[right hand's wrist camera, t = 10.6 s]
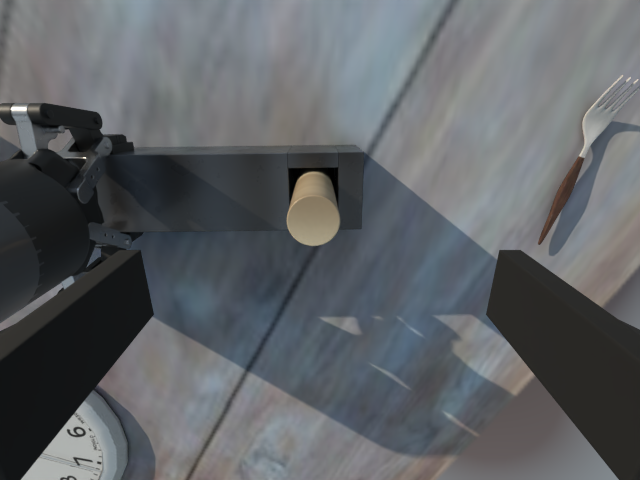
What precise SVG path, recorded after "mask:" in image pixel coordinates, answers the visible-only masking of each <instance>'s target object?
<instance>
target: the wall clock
mask: <svg viewBox="0 0 640 480" xmlns="http://www.w3.org/2000/svg"><path fill="white" fill-rule="evenodd" d="M127 463H128V442H127V439H126V436H125V434H124V431H123V428H122V426H121V423H120V420H119V419H118V418H117V416H116V415H115V414H114V412H113V411H112V410H111V408H110V407H109V405H108V404H107V403H106V401H105V400H104V399H103V398H102V397H101V396H100V395H99V394H98V393H96V392H95V391H94V390H93V391H92V392H91V393H90V394H89V396H88V397H87V398H86V399H85V401H84V402H83V403H82V404H81V406H80V407H79V408H78V409H77V411H76V412H75V413H74V414H73V416H72V417H71V418H70V419H69V421H68V422H67V423H66V424H65V425H64V427H63V428H62V429H61V430H60V432H59V433H58V434H57V435H56V437H55V438H54V439H53V440H52V442H51V443H50V444H49V445H48V447H47V448H46V449H45V450H44V452H43V453H42V454H41V455H40V457H39V458H38V459H37V460H36V462H35V463H34V464H33V465H32V467H31V468H30V469H29V470H28V471H27V473H26V474H25V475H24V476H23V478H22V479H21V480H121V478H122V475H123V473H124V470H125V468H126V465H127Z"/></svg>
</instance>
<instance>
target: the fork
mask: <svg viewBox="0 0 640 480" xmlns="http://www.w3.org/2000/svg"><path fill="white" fill-rule="evenodd" d="M622 77H623V75H622V76H621V77H620V78H619V79H618V80H617V81H616V82H615V83H614V84H613V85H612V86H611V87H610V88H609V89H608V90H607V91H606V92H605V93H604V94H603V95H602V96H601V97H600V98H599V99H598V100H597V101H596V102H595V103H594V105H593V106H592V107H591V108H590V109H589V110H588V112H587V113H586V114H585V116H584V119H583V123H582V128H583V134H584V147H583V150H582V152H581V153H580V155H579V157H578V158H577V160H576V161H575V163H574V165H573V166H572V168H571V169H570V171H569V173H568V174H567V176H566V177H565V179H564V181H563V182H562V184H561V186H560V188H559V190H558V192H557V194H556V197H555V199H554V202H553V205H552V208H551V210H550V213H549V216H548V218H547V221H546V223H545V226H544V228H543V231H542V233H541V236H540V239H539V242H538V244H539V245H540V244H541V243H542V241H543V240H544V238H545V237H546V235H547V233H548V232H549V230H550V228H551V227H552V225H553V223H554V222H555V220H556V218H557V217H558V215H559V213H560V212H561V210H562V208H563V207H564V205H565V203H566V202H567V200H568V198H569V196H570V194H571V192H572V190H573V188H574V185H575V183H576V180H577V177H578V174H579V172H580V169H581V166H582V163H583V161H584V158H585V155H586V153H587V151H588V149H589V147H590V145H591V144H592V143H593V141H594V140H595V139H596V138H597V137H598V136H599V135H600V134H601V133H602V132H603V131H604V130H605V129H606V127H607V126H608V125H609V124H610V122H611V121H612V120H613V118H614V117H615V116H616V114H617V113H618V112H619V111H620V109H621V108H622V107H623V106H624V105H625V104H626V103H627V102H628V100H629V99H630V98H631V97H632V96H633V95H634V94H635V93H636V92H637V91H638V90H639V89H640V86H639V87H638V88H637V89H636V90H635V91H634V92H633V93H631V94H630V95H629V96H628V97H627V98H626V99H625V100H624V101H623V102H622V103H621V104H620V105H619V106H618V107H617V108H616V109H615V110H612V109H613V108H614V106H615V105H616V104H617V103H618V102H619V101H620V99H621V98H622V97H623V96H624V95H625V94H626V93H627V92H628V91H629V90H630V89H631V88H632V86H633V85H634V84H635V83H636V82H637V81H638V79H637V80H636V81H635V82H634V83H633V84H632V85H631V86H629V87H628V88H627V89H626V90H625V91H624V92H623V93H622V94H621V95H620V96H619V97H618V98H617V99H616V100H615V101H614V102H613V103H612V104H611V105H610V106H609V107H608V108H606V109H605V107H606V106H607V104H608V103H609V102H610V101H611V100H612V98H613V97H614V96H615V95H616V94H617V93H618V92H619V91H620V89H621V88H622V87H623V86H624V85H625V84H626V83H627V82H628V81H629V80H630V79H631V77H630V78H628V79H627V80H626V81H625V82H624V83H623V84H622V85H621V86H620V87H619V88H618V89H617V90H616V91H615V92H614V93H613V94H612V95H611V96H610V97H609V98H608V99H607V100H606V101H605V102H604V103H603V104H602V105H601V106H599V107H598V105H599V104H600V102H601V101H602V100H603V99H604V97H605V96H606V95H607V94H608V93H609V92H610V90H611V89H612V88H613V87H614V86H615V85H616V84H617V83H618V81H619V80H620V79H621V78H622Z"/></svg>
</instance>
